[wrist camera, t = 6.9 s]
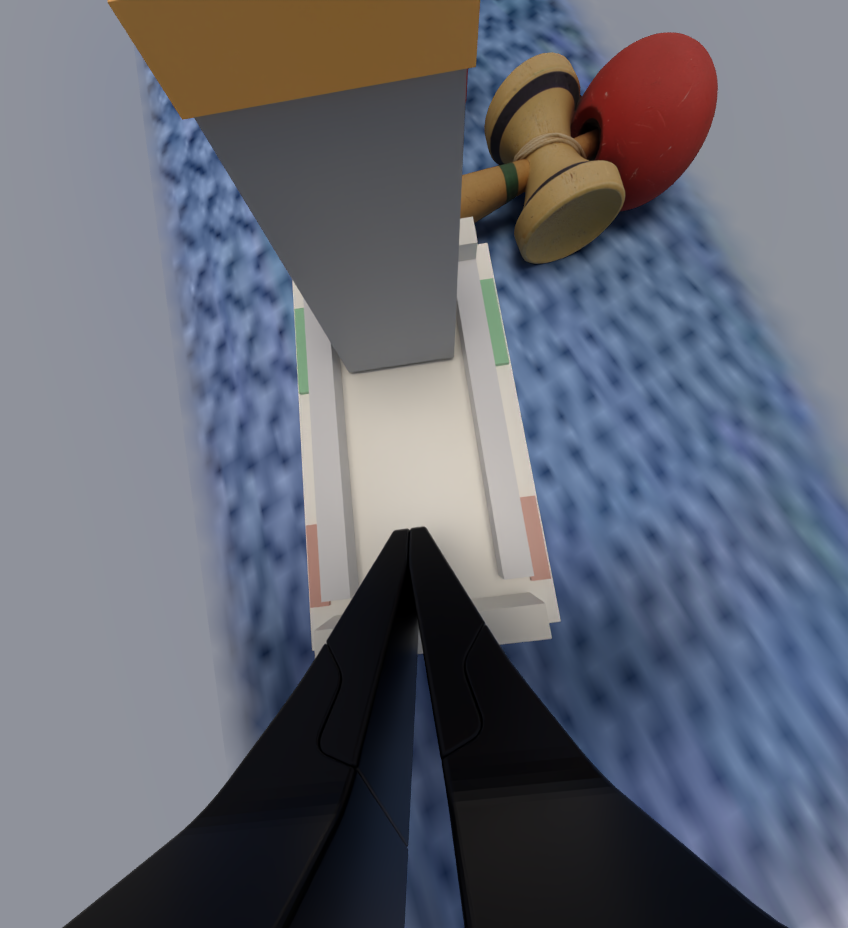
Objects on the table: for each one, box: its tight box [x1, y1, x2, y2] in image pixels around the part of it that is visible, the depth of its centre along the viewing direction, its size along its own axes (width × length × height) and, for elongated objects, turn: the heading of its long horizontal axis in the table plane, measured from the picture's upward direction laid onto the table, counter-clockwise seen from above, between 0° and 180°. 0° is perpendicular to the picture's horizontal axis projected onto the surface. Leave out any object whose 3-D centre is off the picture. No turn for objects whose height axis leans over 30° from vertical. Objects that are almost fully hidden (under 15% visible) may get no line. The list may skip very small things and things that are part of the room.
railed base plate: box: [293, 217, 561, 658], centre depth 14 cm, size 16×9×5 cm, turn 8°
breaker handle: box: [108, 0, 480, 373], centre depth 9 cm, size 3×5×10 cm
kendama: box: [460, 33, 718, 264], centre depth 17 cm, size 8×6×18 cm
